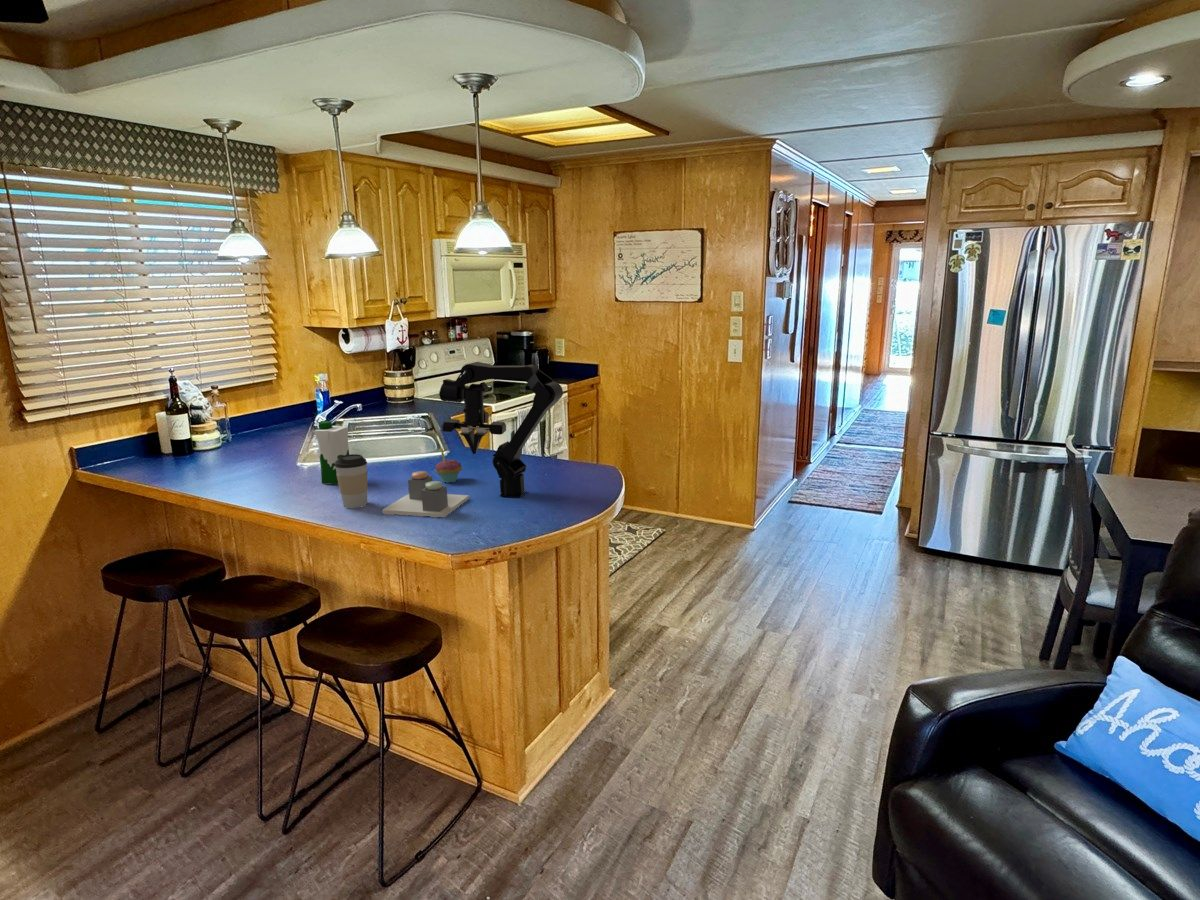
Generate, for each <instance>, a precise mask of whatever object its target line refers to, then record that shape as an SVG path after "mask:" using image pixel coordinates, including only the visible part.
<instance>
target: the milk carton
mask: <svg viewBox="0 0 1200 900" xmlns="http://www.w3.org/2000/svg"><path fill="white" fill-rule="evenodd" d="M317 424H318V428H316V429H314V430H313V432H314V435H315V438H316V441H317V447H318V454H319V463H320V464H319V465H320V475H321V477H320V478H321V484H322V483H331V484H330V485H339V484H338V479H337V475H336V474H337V471H336V467H335V462H336V461H337V460H338V458H339V457H340V456H344V455H350V446H349V426H345V425H344V426H342V425H333V424H332V421H330V420H322V421H321V420H320V421H319V422H318V423H317Z"/></svg>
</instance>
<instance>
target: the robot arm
mask: <svg viewBox="0 0 1200 900" xmlns="http://www.w3.org/2000/svg"><path fill="white" fill-rule="evenodd" d="M488 380H524V381H525V382H526V383H527V385H528V387H529V388H530V390H531V391H532V393H534V396H533V399H532V406H531V408H530V409H529V411H528V413H527V414H526V415H525V417H524V419H523V421H522V422H521V423H520V424H519V427H518V428H517V430H516V431H515V433H514V435H512V437H511V439H510V441H508V440H507V441H506V442H503V443H502V444H500V445H498V447H497V449H496V451H495V453H494V454H492V457H493V458H492V462H491V463H492V464H493V468H494V469H495V470H496V473H497V476H498V478H499V479H500V480H499V489H500V490H499V491H500V494H499V496H500V497H502V496H508V497H507V498H521V497H522V496H523V495H524V494H525V493H526V492H527V489H525V477H524V475H525V474H524V473H525V472H526V470H527V465H526V464H525V462H524V461H523V460H522V459H521V457H522V453H523V448H524V446H525V445H526V443H527V442H528V440H529V439H530V437H531V436H532V434H533V433H534V431H535V429H536V428H537V427H538V425H539V423H540V422H541V420H542V419H543V418H544V416H545V415H546V413H547V412H549V410H550V409H552V407H553V406H555V405H556V404H557V403H558V402H559V401H560V399H562V398H563V395H564V391H563V387H562V385H561V384H560V383H558V382H556V381H554V380H553V379H552V378H551V377H550V376H549V375H547V374H546V373H544V372H543V371H541V370H540V369H539V367H537V366H536V365H534V364H528V365H492V364H490V363H487V362H482V361H481V362H480V361H474V362H471V363H465V364H464V365H463V366H462V367H461V369H460V374H459V375H458V377H457V378H456V379H455V380H452V379H449V378H445V379H443V380H442V384H441V386H440V389H439V393H438V394H439V395H438V396H439V399H440V400H441V402H448V403H449V402H450V403H457V404H458V403H459V404H461V403H462V402H463V403H464V404H463V405H464V406H463V407H464V408H463V413H464V421H463V422H461V421H460V419H458V418H457V419H455V418H448V419H446V420H444V422H442V424H441V431H442V432H443V433H444V432H447V433H452V432H453V431H455V430H456V429H457V430H459V429H460V430H461V431H460V436H463V438H464V439H465V440H466V442H467V444H468V447H469V448H470V451H471V453H472V454H473V455H477V453H478V449H479V446H480V444H481V442H482V441H481V440H482V438H483V437H485V435H487V434H488V433H490V434H491V435H500V436H501V435H504V433H505V432H506V431H507V424H506V423H505V421H495V420H494V421H492V422H491V423H490V424H489V423H488V422H489V412H487V411H486V410H485V405H484V392H486V391H488V390H489V391H490V389H491V387H490V386H489V385H488V384H486V382H485V381H488ZM478 382H480V383H479V384H478ZM468 384H469V385H468ZM524 490H525V491H526V492H525V491H524ZM524 492H525V493H524ZM523 493H524V494H523ZM522 494H523V495H522ZM521 495H522V496H521ZM509 496H511V497H509ZM520 496H521V497H520Z"/></svg>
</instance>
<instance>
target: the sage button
mask: <svg viewBox="0 0 1200 900" xmlns="http://www.w3.org/2000/svg"><path fill="white" fill-rule="evenodd" d="M442 486H443V482H442V481H439V480H438V481H437V480H434V481H431V482H427V483H426V484H425V487H426V489H427V490H435V491H438V489H440V488H442Z"/></svg>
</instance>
